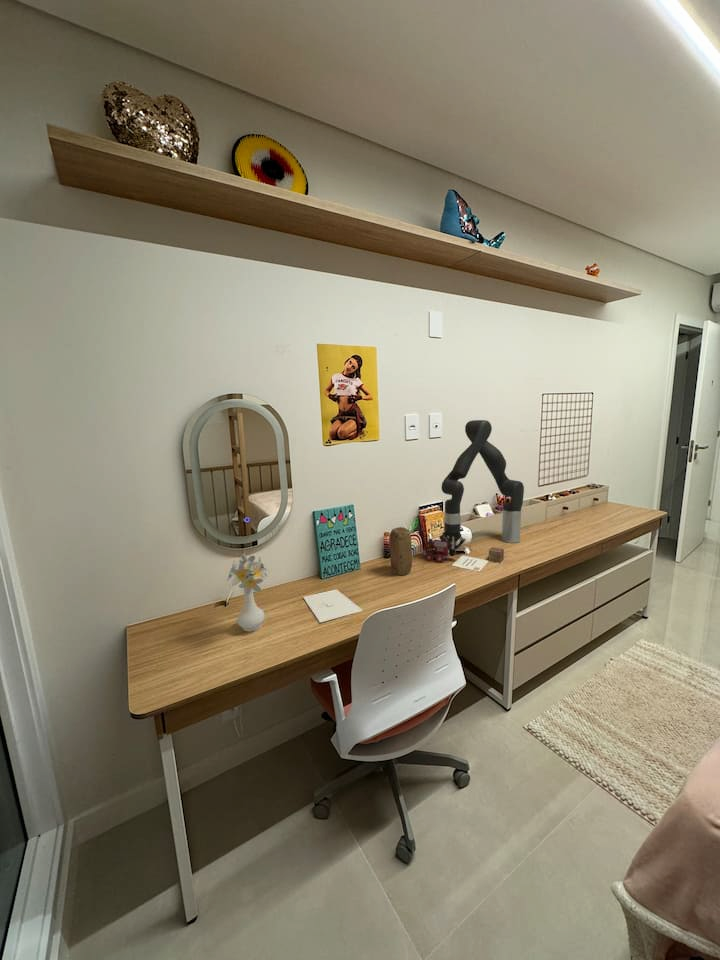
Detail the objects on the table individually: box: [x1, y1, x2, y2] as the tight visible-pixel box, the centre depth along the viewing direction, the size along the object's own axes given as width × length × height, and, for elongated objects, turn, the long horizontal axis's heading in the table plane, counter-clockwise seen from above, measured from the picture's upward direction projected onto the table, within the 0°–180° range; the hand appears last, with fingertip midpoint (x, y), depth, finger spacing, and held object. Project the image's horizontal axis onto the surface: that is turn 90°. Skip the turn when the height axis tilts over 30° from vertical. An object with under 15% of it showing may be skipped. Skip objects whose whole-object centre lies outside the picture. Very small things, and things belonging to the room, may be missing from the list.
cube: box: [488, 546, 505, 564], centre depth 176 cm, size 6×6×6 cm
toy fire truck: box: [422, 538, 449, 564], centre depth 180 cm, size 7×12×10 cm, turn 62°
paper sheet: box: [302, 589, 364, 623], centre depth 144 cm, size 24×29×1 cm
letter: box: [451, 555, 490, 573], centre depth 174 cm, size 14×13×1 cm
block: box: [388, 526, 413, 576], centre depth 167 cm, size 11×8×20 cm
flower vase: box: [226, 553, 269, 633], centre depth 127 cm, size 13×18×25 cm
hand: (452, 555), depth 179 cm, fingers closed
